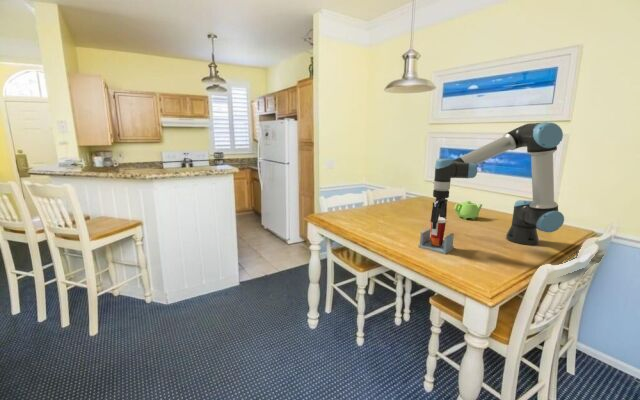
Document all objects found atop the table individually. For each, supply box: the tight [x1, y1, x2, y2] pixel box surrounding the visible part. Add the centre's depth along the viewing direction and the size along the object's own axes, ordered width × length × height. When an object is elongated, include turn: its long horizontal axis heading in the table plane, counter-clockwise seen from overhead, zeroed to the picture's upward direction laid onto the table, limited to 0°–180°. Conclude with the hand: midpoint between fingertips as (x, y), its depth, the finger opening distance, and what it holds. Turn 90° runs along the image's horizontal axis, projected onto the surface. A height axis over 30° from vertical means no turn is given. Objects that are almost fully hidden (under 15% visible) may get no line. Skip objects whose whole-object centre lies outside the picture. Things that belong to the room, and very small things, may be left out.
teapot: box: [453, 200, 483, 221], centre depth 214 cm, size 20×13×13 cm
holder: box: [417, 227, 455, 255], centre depth 156 cm, size 14×12×8 cm
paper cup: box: [430, 216, 447, 246], centre depth 155 cm, size 8×8×14 cm
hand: (437, 232), depth 155 cm, fingers closed on paper cup, 8 cm apart
